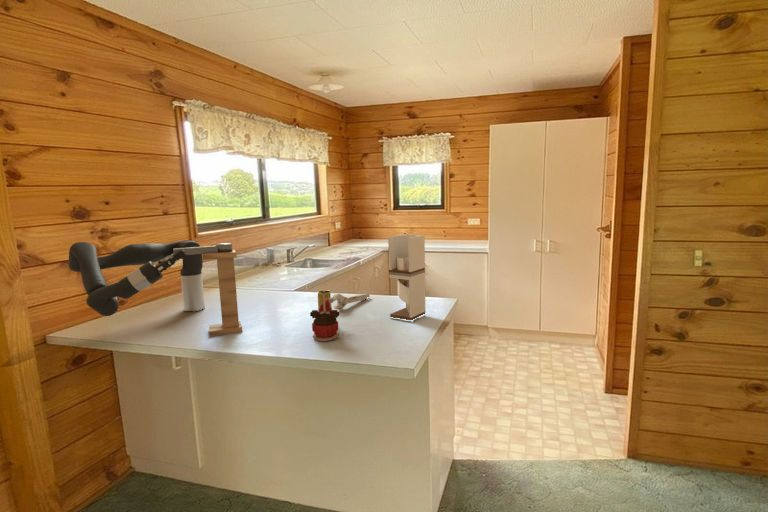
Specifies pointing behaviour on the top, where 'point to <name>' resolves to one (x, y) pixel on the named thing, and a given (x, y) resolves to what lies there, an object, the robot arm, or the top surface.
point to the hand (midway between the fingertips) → (184, 251)
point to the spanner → (205, 249)
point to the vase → (320, 297)
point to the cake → (325, 321)
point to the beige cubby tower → (408, 273)
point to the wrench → (347, 300)
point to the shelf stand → (226, 294)
